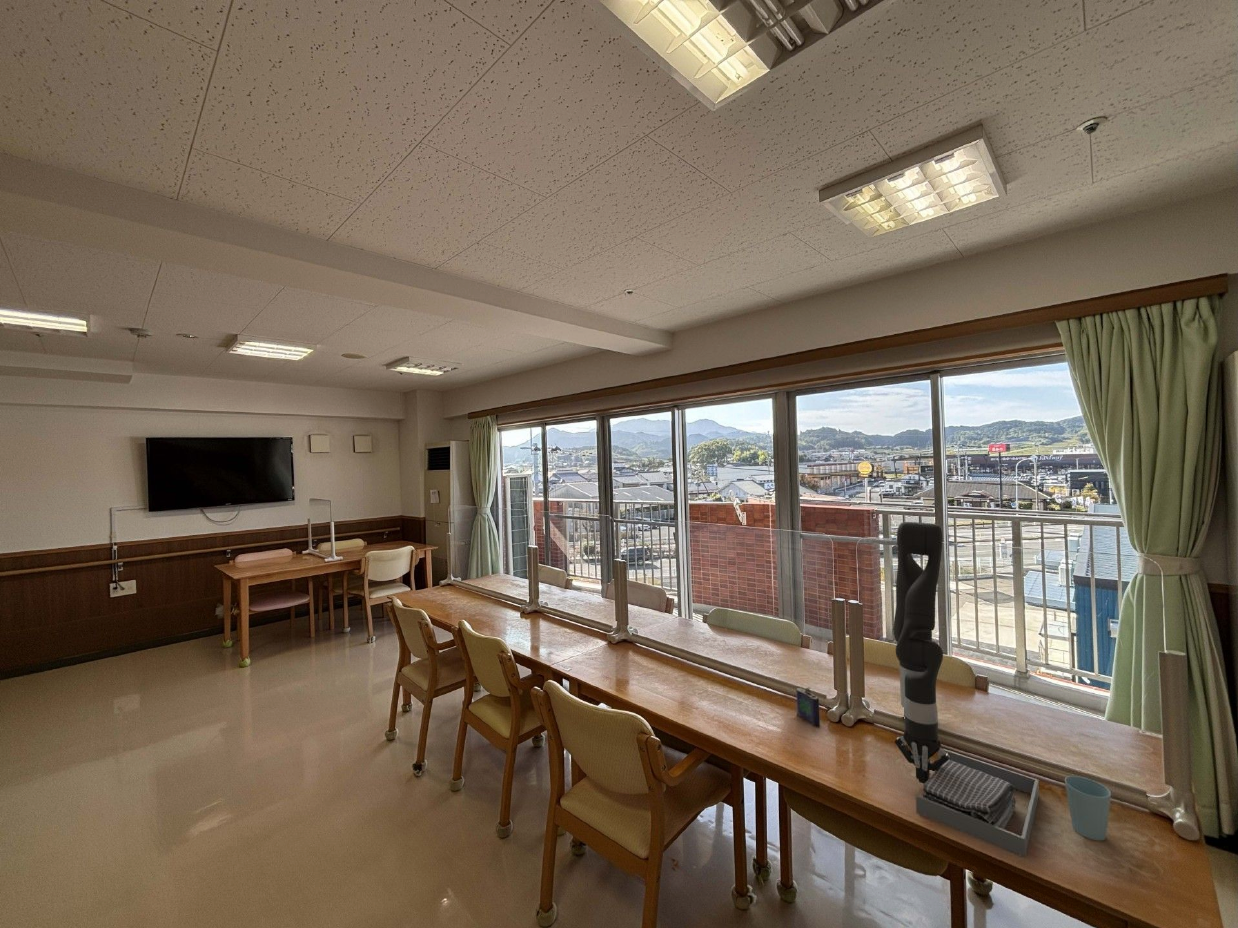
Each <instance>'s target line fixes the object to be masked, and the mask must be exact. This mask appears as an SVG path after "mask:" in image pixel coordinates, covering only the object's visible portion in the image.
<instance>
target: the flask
mask: <svg viewBox="0 0 1238 928" xmlns="http://www.w3.org/2000/svg"><path fill="white" fill-rule="evenodd" d="M810 689H811V687H804V688H800V687H798V688H796V690H795V691H796V692H795V693H796V697H795V698H796V715H797V717H798V718H801V719H802V720H803V721H805V722H808V723H809V724H810V725H812V726H813V727H818V728H819V727H820V726H821V722H820V721H821V720H820V703H819V701H820V699H819V697H818V696H816V694H814V693H812V691H811V690H810Z"/></svg>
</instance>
